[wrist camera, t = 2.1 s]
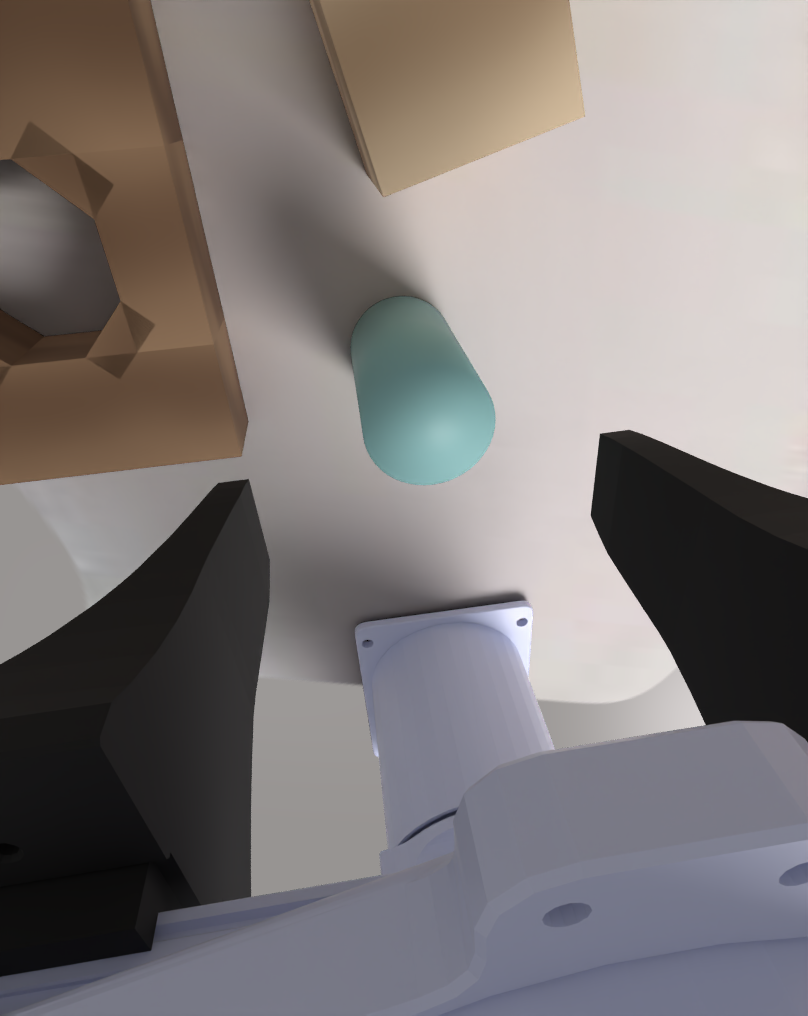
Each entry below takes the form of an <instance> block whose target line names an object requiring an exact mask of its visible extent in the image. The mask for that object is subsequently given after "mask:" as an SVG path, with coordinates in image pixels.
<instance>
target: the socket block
mask: <svg viewBox="0 0 808 1016" xmlns="http://www.w3.org/2000/svg"><path fill="white" fill-rule="evenodd" d="M5 159H11V160H13V161H14V162H16V163H17V164H18V165H20V166H21V167H22V168H24V169H25V170H27V171H28V172H29V173H31V174H32V175H34V176H35V177H36V178H38V179H39V180H40V181H42V182H43V183H45V184H46V185H47V186H49V187H50V188H52V189H53V190H54V191H56V192H57V193H58V194H60V195H61V196H63V197H64V198H65V199H67V200H68V201H69V202H71V203H72V204H74V205H75V206H76V207H78V208H79V209H81V210H82V211H83V212H85V213H86V214H87V215H89V216H90V217H92V218H93V219H94V220H95V224H96V227H97V230H98V233H99V236H100V239H101V242H102V245H103V248H104V251H105V254H106V258H107V261H108V264H109V267H110V270H111V273H112V276H113V279H114V282H115V285H116V288H117V292H118V295H119V298H120V303H119V304H118V306H117V308H116V309H115V311H114V313H113V314H112V316H111V317H110V319H109V321H108V322H107V324H106V325H105V327H104V329H103V330H102V331H93V332H83V333H74V334H64V335H54V336H45V337H44V336H43V335H41V334H39V333H38V332H36V331H34V330H33V329H31V328H29V327H28V326H26V325H25V324H23V323H21V322H20V321H18V320H16V319H15V318H13V317H12V316H10V315H8V314H7V313H5V312H3V311H2V310H0V485H4V484H13V483H21V482H30V481H38V480H47V479H55V478H63V477H72V476H80V475H89V474H97V473H106V472H114V471H123V470H131V469H139V468H148V467H156V466H165V465H173V464H182V463H190V462H199V461H207V460H215V459H224V458H232V457H241V456H242V451H243V446H244V441H245V436H246V431H247V426H248V418H247V413H246V409H245V405H244V400H243V396H242V392H241V388H240V383H239V379H238V375H237V370H236V366H235V362H234V358H233V353H232V349H231V345H230V340H229V336H228V332H227V327H226V323H225V319H224V315H223V310H222V306H221V302H220V297H219V293H218V289H217V285H216V280H215V276H214V272H213V267H212V263H211V259H210V255H209V250H208V246H207V242H206V237H205V233H204V229H203V225H202V220H201V216H200V212H199V207H198V203H197V199H196V194H195V190H194V186H193V182H192V177H191V173H190V169H189V164H188V160H187V156H186V152H185V147H184V143H183V139H182V134H181V130H180V126H179V122H178V117H177V113H176V109H175V104H174V100H173V96H172V91H171V87H170V83H169V79H168V74H167V70H166V66H165V61H164V57H163V53H162V49H161V44H160V40H159V36H158V31H157V27H156V23H155V19H154V14H153V10H152V6H151V1H150V0H0V160H5Z"/></svg>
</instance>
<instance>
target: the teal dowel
mask: <svg viewBox="0 0 808 1016" xmlns="http://www.w3.org/2000/svg"><path fill="white" fill-rule="evenodd" d="M350 348H351V358H352V365H353V372H354V378H355V385H356V392H357V398H358V405H359V412H360V418H361V425H362V432H363V438H364V443H365V446H366V449H367V451H368V453H369V455H370V457H371V459H372V460H373V461H374V463H375V464H376V465H377V466H378V467H379V468H380V469H381V470H382V471H383V472H385V473H386V474H387V475H389V476H391V477H392V478H394V479H397V480H399V481H402V482H405V483H409V484H415V485H433V484H438V483H443V482H446V481H449V480H451V479H454V478H456V477H458V476H460V475H462V474H463V473H465V472H466V471H468V470H469V469H470V468H472V467H473V466H474V465H475V464H476V463H477V462H478V461H479V460H480V458H481V457H482V456H483V455H484V453H485V452H486V450H487V448H488V446H489V444H490V442H491V440H492V437H493V433H494V429H495V410H494V405H493V402H492V399H491V397H490V395H489V393H488V391H487V389H486V388H485V386H484V384H483V383H482V381H481V379H480V378H479V376H478V374H477V373H476V371H475V369H474V368H473V366H472V364H471V363H470V361H469V359H468V357H467V356H466V354H465V352H464V351H463V349H462V347H461V346H460V344H459V342H458V341H457V339H456V337H455V336H454V334H453V332H452V331H451V329H450V327H449V326H448V324H447V322H446V321H445V319H444V317H443V316H442V315H441V313H440V312H439V311H438V310H437V309H436V308H435V307H433V306H432V305H431V304H429V303H427V302H426V301H423V300H421V299H418V298H414V297H409V296H397V297H391V298H388V299H384V300H382V301H380V302H378V303H376V304H375V305H373V306H372V307H370V308H369V309H368V310H367V311H366V312H365V313H364V314H363V315H362V316H361V318H360V319H359V321H358V322H357V324H356V326H355V328H354V331H353V334H352V338H351V346H350Z"/></svg>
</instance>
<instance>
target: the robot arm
mask: <svg viewBox="0 0 808 1016" xmlns="http://www.w3.org/2000/svg"><path fill="white" fill-rule="evenodd" d="M591 517H592V520H593V522H594V524H595V527H596V529H597V531H598V534H599V536H600V538H601V540H602V542H603V545H604V547H605V549H606V551H607V553H608V555H609V556H610V558H611V560H612V561H613V563H614V564H615V566H616V567H617V569H618V571H619V572H620V574H621V575H622V577H623V578H624V580H625V581H626V583H627V585H628V586H629V588H630V589H631V591H632V592H633V594H634V595H635V597H636V598H637V600H638V601H639V603H640V604H641V606H642V607H643V609H644V610H645V612H646V613H647V615H648V616H649V618H650V620H651V621H652V623H653V624H654V626H655V627H656V629H657V630H658V632H659V633H660V635H661V637H662V638H663V640H664V642H665V643H666V645H667V647H668V648H669V650H670V652H671V654H672V656H673V658H674V660H675V662H676V664H677V666H678V668H679V670H680V672H681V674H682V676H683V678H684V680H685V682H686V684H687V686H688V688H689V690H690V692H691V694H692V696H693V698H694V700H695V702H696V705H697V707H698V709H699V711H700V713H701V715H702V717H703V720H704V722H705V724H706V725H704V726H698V727H693V728H686V729H679V730H673V731H667V732H661V733H654V734H649V735H642V736H636V737H629V738H623V739H617V740H611V741H605V742H598V743H592V744H586V745H579V746H573V747H567V748H561V749H555V748H554V745H553V742H552V740H551V737H550V734H549V731H548V729H547V726H546V723H545V721H544V718H543V715H542V713H541V710H540V707H539V705H538V702H537V699H536V697H535V694H534V691H533V688H532V686H531V683H530V680H529V665H530V650H531V636H532V622H533V609H532V606H531V604H530V603H529V602H527V601H515V602H508V603H500V604H493V605H486V606H478V607H471V608H464V609H457V610H449V611H442V612H435V613H428V614H420V615H413V616H406V617H398V618H391V619H384V620H377V621H369V622H364V623H360V624H359V625H357V627H356V628H355V639H356V646H357V652H358V658H359V664H360V671H361V677H362V683H363V689H364V695H365V702H366V708H367V714H368V721H369V727H370V733H371V740H372V745H373V752H374V755H376V756H377V757H379V764H380V774H381V784H382V794H383V804H384V814H385V824H386V833H387V844H388V849H387V850H383V851H381V852H380V866H381V875H378V876H372V877H367V878H361V879H355V880H349V881H343V882H337V883H331V884H325V885H320V886H313V887H308V888H302V889H296V890H290V891H284V892H278V893H272V894H266V895H260V896H254V897H251V779H252V778H251V777H252V776H251V775H252V743H253V716H254V705H255V695H256V688H257V682H258V675H259V668H260V662H261V655H262V648H263V642H264V635H265V628H266V621H267V614H268V607H269V588H270V559H269V556H268V552H267V548H266V544H265V540H264V536H263V532H262V529H261V525H260V521H259V517H258V513H257V509H256V505H255V501H254V498H253V494H252V490H251V486H250V482H249V479H247V480H239V481H231V482H223V483H218V484H217V485H216V486H215V487H214V488H213V489H212V490H211V491H210V492H209V493H208V495H207V496H206V497H205V498H204V499H203V500H202V501H201V503H200V504H199V505H198V506H197V507H196V508H195V509H194V511H193V512H192V513H191V514H190V515H189V516H188V517H187V518H186V520H185V521H184V522H183V523H182V524H181V525H180V526H179V527H178V528H177V529H176V531H175V532H174V533H173V534H172V535H171V536H170V537H169V538H168V539H167V540H166V541H165V542H164V543H163V544H162V545H161V546H160V547H159V548H158V549H157V550H156V551H155V552H154V553H153V554H152V555H151V556H150V557H149V558H148V559H147V560H146V561H145V562H144V563H143V564H142V565H141V566H140V567H139V568H138V569H137V570H135V571H134V572H133V573H132V574H131V575H130V576H129V577H128V578H126V579H125V580H124V581H123V582H122V583H121V584H119V585H118V586H117V587H116V588H114V589H113V590H112V591H111V592H109V593H108V594H107V595H106V596H104V597H103V598H102V599H101V600H99V601H98V602H97V603H95V604H94V605H93V606H91V607H90V608H89V609H87V610H86V611H84V612H83V613H81V614H80V615H78V616H77V617H76V618H74V619H73V620H71V621H70V622H68V623H67V624H65V625H64V626H63V627H61V628H60V629H58V630H57V631H55V632H54V633H52V634H51V635H49V636H48V637H46V638H45V639H43V640H41V641H40V642H38V643H36V644H35V645H33V646H31V647H30V648H28V649H27V650H25V651H23V652H22V653H20V654H18V655H16V656H15V657H13V658H11V659H9V660H7V661H6V662H4V663H2V664H0V1016H808V498H805V497H801V496H798V495H795V494H791V493H788V492H785V491H782V490H779V489H776V488H773V487H770V486H767V485H765V484H762V483H759V482H756V481H754V480H751V479H748V478H746V477H743V476H740V475H738V474H735V473H733V472H730V471H728V470H725V469H723V468H720V467H718V466H716V465H713V464H711V463H709V462H706V461H704V460H702V459H699V458H697V457H695V456H692V455H690V454H688V453H685V452H683V451H681V450H679V449H676V448H674V447H672V446H669V445H667V444H665V443H663V442H660V441H658V440H655V439H653V438H651V437H648V436H645V435H643V434H640V433H637V432H634V431H631V430H625V431H617V432H610V433H602V434H600V439H599V447H598V456H597V465H596V474H595V482H594V491H593V500H592V508H591ZM521 618H523V619H522V620H519V619H521ZM365 640H371V641H368V642H366V641H365Z"/></svg>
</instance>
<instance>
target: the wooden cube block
mask: <svg viewBox="0 0 808 1016" xmlns="http://www.w3.org/2000/svg"><path fill="white" fill-rule="evenodd" d="M309 1H310V4H311V7H312V10H313V13H314V16H315V19H316V22H317V25H318V28H319V31H320V34H321V37H322V40H323V43H324V46H325V49H326V52H327V55H328V58H329V61H330V65H331V68H332V71H333V74H334V77H335V80H336V83H337V86H338V89H339V92H340V95H341V98H342V101H343V104H344V107H345V110H346V113H347V116H348V119H349V122H350V125H351V128H352V131H353V134H354V137H355V140H356V143H357V146H358V149H359V152H360V155H361V158H362V161H363V164H364V167H365V170H366V173H367V175H368V177H369V178H370V179H371V181H372V182H373V184H374V185H375V186H376V188H377V189H378V190H379V192H380V193H381V195H382V196H383V197H386V196H388V195H391V194H393V193H396V192H398V191H401V190H403V189H406V188H408V187H411V186H413V185H416V184H418V183H421V182H423V181H426V180H428V179H430V178H433V177H435V176H438V175H440V174H443V173H445V172H448V171H450V170H453V169H455V168H458V167H460V166H463V165H465V164H468V163H470V162H473V161H475V160H478V159H480V158H483V157H485V156H488V155H490V154H493V153H495V152H498V151H500V150H503V149H505V148H508V147H510V146H513V145H515V144H518V143H520V142H523V141H525V140H528V139H530V138H532V137H535V136H537V135H540V134H542V133H545V132H547V131H550V130H552V129H555V128H557V127H560V126H562V125H565V124H567V123H570V122H572V121H575V120H577V119H580V118H582V117H585V111H584V104H583V97H582V90H581V83H580V75H579V68H578V61H577V54H576V47H575V39H574V32H573V25H572V18H571V11H570V3H569V0H309Z"/></svg>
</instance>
